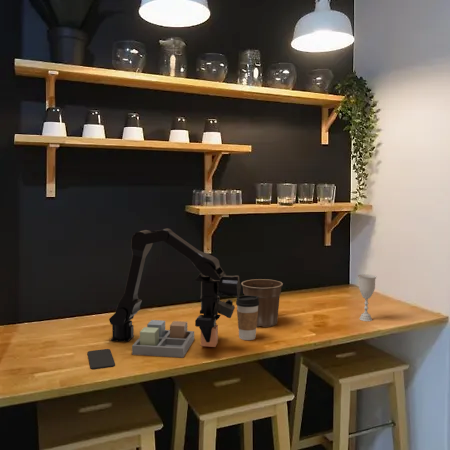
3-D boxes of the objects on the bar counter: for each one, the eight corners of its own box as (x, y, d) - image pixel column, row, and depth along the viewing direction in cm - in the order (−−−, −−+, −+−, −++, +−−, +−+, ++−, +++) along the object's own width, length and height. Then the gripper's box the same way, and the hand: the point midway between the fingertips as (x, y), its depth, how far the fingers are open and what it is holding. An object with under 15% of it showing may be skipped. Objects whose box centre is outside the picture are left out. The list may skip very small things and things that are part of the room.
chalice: (355, 320, 186) (357, 276, 184) (357, 316, 192) (358, 273, 191) (374, 322, 183) (376, 278, 182) (375, 318, 190) (377, 275, 188)
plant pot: (232, 323, 183) (232, 283, 181) (258, 314, 194) (258, 276, 193) (265, 332, 172) (265, 289, 170) (290, 322, 183) (290, 282, 182)
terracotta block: (200, 346, 154) (200, 328, 154) (203, 340, 159) (203, 324, 159) (215, 346, 154) (215, 329, 153) (217, 341, 159) (217, 324, 158)
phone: (110, 348, 153) (115, 364, 139) (110, 350, 154) (115, 367, 140) (87, 351, 151) (90, 368, 137) (87, 353, 151) (90, 370, 137)
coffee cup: (252, 343, 160) (252, 300, 158) (231, 338, 164) (231, 297, 163) (263, 336, 167) (263, 295, 166) (242, 332, 172) (243, 292, 170)
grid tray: (132, 354, 149) (131, 333, 148) (148, 337, 166) (147, 318, 165) (183, 357, 147) (183, 336, 146) (194, 339, 163) (194, 320, 163)
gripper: (229, 302, 144) (229, 350, 146) (236, 288, 163) (236, 331, 164) (194, 301, 146) (194, 348, 148) (205, 287, 164) (205, 330, 166)
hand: (209, 339), depth 156 cm, fingers closed on terracotta block, 5 cm apart
